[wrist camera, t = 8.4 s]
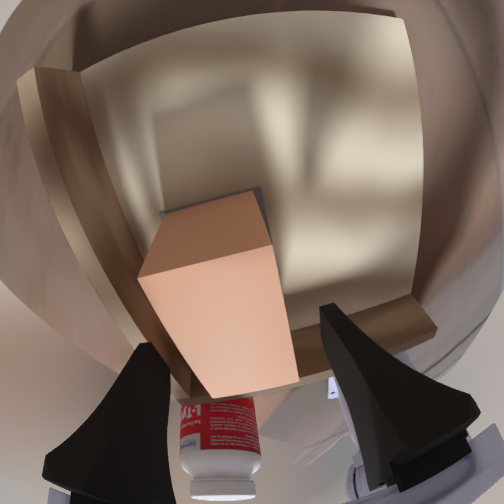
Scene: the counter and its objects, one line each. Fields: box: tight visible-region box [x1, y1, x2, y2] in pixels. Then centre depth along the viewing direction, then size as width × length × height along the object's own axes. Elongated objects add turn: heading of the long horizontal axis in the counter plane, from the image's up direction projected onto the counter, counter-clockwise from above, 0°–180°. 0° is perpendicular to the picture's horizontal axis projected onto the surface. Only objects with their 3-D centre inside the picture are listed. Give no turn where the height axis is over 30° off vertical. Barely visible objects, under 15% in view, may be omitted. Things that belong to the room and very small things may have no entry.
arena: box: [17, 11, 437, 406], centre depth 12 cm, size 20×18×5 cm
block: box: [137, 191, 299, 398], centre depth 13 cm, size 8×4×6 cm, turn 13°
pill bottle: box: [180, 396, 261, 501], centre depth 17 cm, size 6×6×11 cm
